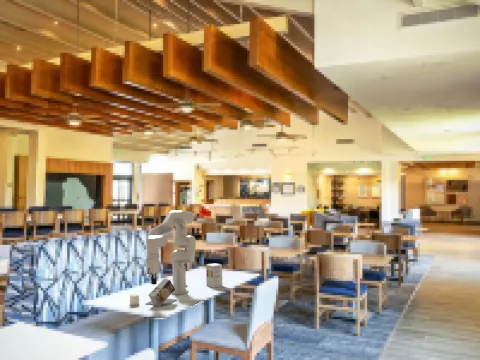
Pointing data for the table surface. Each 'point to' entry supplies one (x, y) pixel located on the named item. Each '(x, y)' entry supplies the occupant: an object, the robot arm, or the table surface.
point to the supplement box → (214, 275)
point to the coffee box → (161, 292)
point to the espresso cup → (134, 300)
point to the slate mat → (166, 302)
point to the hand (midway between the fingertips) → (153, 284)
